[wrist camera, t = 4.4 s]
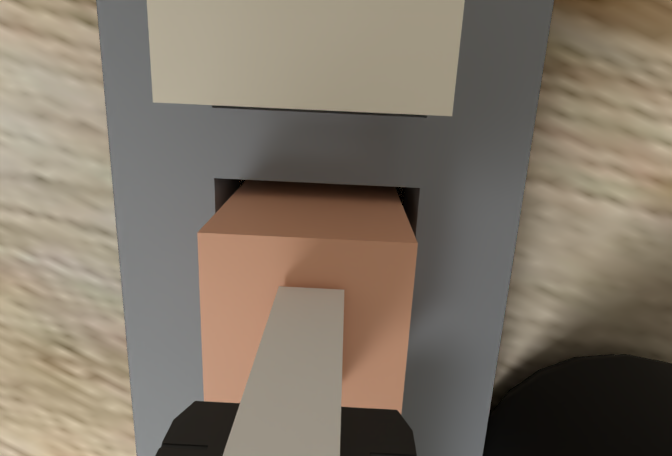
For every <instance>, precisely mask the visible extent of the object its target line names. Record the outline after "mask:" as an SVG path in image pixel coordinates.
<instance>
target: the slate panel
mask: <svg viewBox="0 0 672 456" xmlns="http://www.w3.org/2000/svg"><path fill="white" fill-rule="evenodd" d="M96 2H97V13H98V25H99V36H100V47H101V58H102V70H103V81H104V92H105V104H106V115H107V126H108V137H109V149H110V160H111V171H112V182H113V194H114V205H115V216H116V228H117V239H118V250H119V261H120V273H121V284H122V295H123V306H124V318H125V329H126V340H127V351H128V363H129V374H130V385H131V397H132V408H133V419H134V430H135V442H136V453H137V456H155V455H156V453H157V451H158V449H159V448H161V445H162V441H163V439H164V437H165V435H166V433H167V432H168V430H169V428H170V426H171V424H172V422H173V420H174V419H175V418H176V417H177V416H178V415H179V414H181V413H182V412H183V411H184V410H185V409H186V408H187V407H189V406H190V405H191V404H192V403H193V402H194V401H204V391H203V366H202V341H201V315H200V290H199V265H198V239H197V232H198V231H199V230H200V229H201V228H202V227H203V226H204V225H205V224H206V223H207V222H208V221H209V220H210V218H211V217H212V216H213V215H214V214H215V213H216V212H217V211H218V210H219V209H220V208H221V207H222V206H223V204H224V203H225V202H226V201H227V200H228V199H229V198H230V197H231V196H232V195H233V194H234V193H235V192H236V190H237V189H238V188H239V179H242V180H263V181H285V182H306V183H327V184H348V185H369V186H390V187H405V193H404V205H403V208H404V211H405V213H406V216H407V218H408V220H409V223H410V225H411V228H412V230H413V233H414V235H415V238H416V240H417V242H418V247H417V258H416V268H415V278H414V289H413V299H412V309H411V320H410V330H409V340H408V351H407V361H406V371H405V382H404V392H403V402H402V413H401V416H402V417H403V418H404V420H405V421H406V422H407V424H408V425H409V426H410V428H411V429H412V430H413V436H414V441H415V447H416V453H417V456H482V455H483V449H484V443H485V436H486V430H487V424H488V417H489V411H490V405H491V398H492V392H493V386H494V379H495V373H496V366H497V360H498V354H499V347H500V341H501V335H502V328H503V322H504V316H505V309H506V303H507V296H508V290H509V284H510V277H511V271H512V265H513V258H514V252H515V246H516V239H517V233H518V226H519V220H520V214H521V207H522V201H523V195H524V188H525V182H526V176H527V169H528V163H529V157H530V150H531V144H532V137H533V131H534V125H535V118H536V112H537V106H538V99H539V93H540V87H541V80H542V74H543V67H544V61H545V55H546V48H547V42H548V36H549V29H550V23H551V17H552V10H553V4H554V0H465V3H464V12H463V21H462V30H461V39H460V48H459V58H458V67H457V76H456V85H455V94H454V103H453V113H452V116H435V115H414V114H392V113H370V112H349V111H327V110H305V109H284V108H262V107H241V106H219V105H197V104H176V103H154V102H153V96H152V79H151V63H150V47H149V31H148V14H147V0H96Z"/></svg>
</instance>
